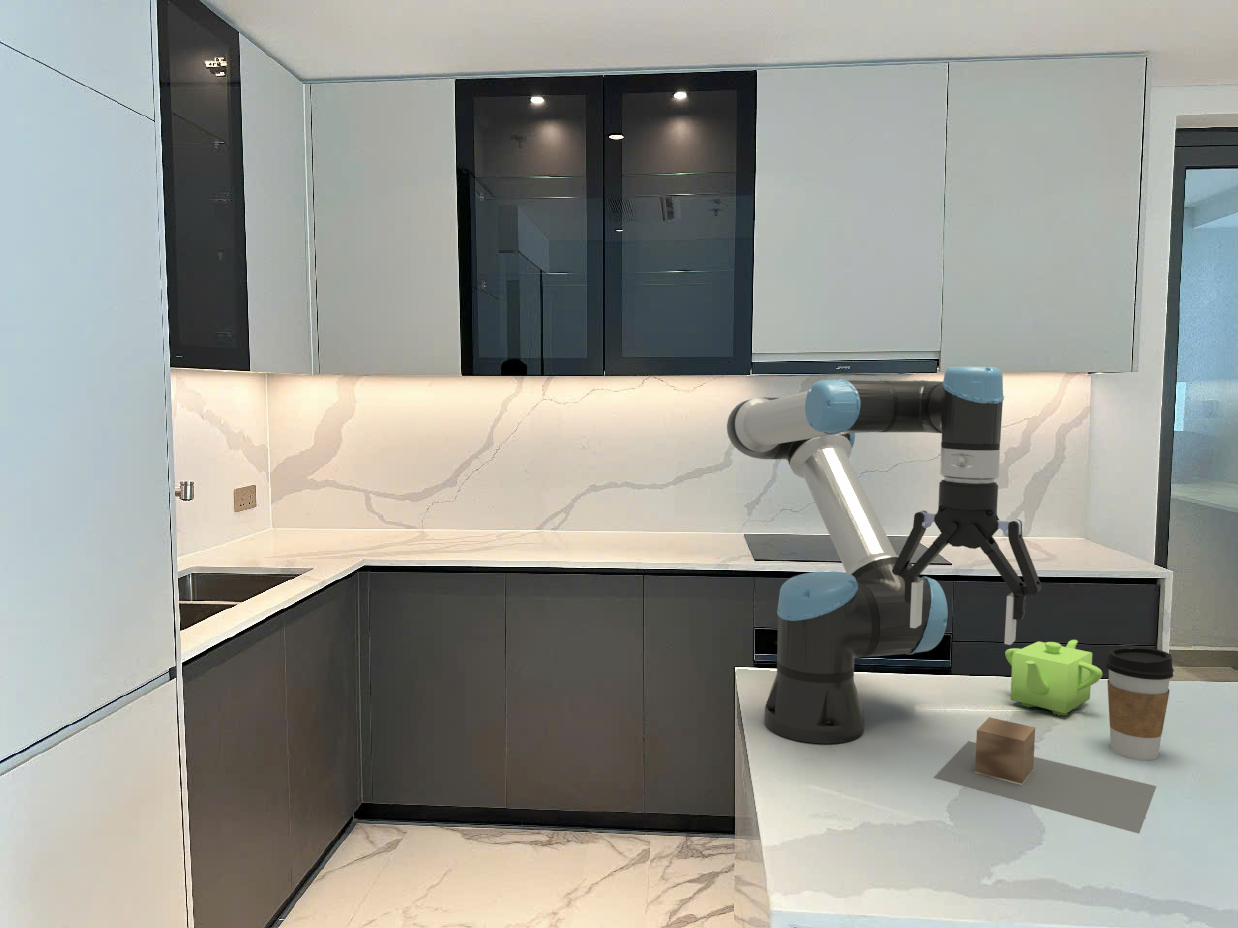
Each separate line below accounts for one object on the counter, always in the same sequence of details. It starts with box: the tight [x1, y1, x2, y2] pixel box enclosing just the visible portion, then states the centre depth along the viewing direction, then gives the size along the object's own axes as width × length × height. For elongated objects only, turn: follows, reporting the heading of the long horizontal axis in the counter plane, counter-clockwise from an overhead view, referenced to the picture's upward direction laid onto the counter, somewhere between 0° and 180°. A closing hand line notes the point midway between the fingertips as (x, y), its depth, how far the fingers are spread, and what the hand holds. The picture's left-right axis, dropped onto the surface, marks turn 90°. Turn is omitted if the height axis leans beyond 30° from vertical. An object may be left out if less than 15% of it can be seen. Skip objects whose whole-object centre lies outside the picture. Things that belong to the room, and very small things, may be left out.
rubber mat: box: [933, 740, 1157, 835], centre depth 117 cm, size 24×16×1 cm, turn 53°
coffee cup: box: [1105, 647, 1175, 761], centre depth 127 cm, size 8×8×15 cm
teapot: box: [1004, 639, 1103, 716], centre depth 147 cm, size 15×13×11 cm
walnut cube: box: [975, 716, 1036, 785], centre depth 120 cm, size 6×6×6 cm
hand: (961, 633), depth 123 cm, fingers open, 12 cm apart
